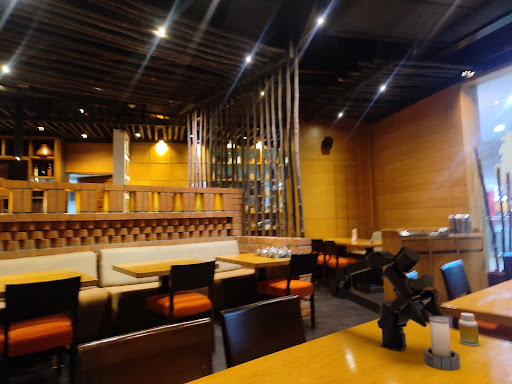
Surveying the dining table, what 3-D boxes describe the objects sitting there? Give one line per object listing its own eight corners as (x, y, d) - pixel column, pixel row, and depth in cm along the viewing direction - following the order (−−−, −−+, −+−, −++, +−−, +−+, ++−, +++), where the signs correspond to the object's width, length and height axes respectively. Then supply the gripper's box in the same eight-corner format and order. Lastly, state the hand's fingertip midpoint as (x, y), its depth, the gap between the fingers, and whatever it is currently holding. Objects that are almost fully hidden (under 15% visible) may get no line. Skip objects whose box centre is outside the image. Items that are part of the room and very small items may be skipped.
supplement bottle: (478, 347, 111) (476, 317, 112) (459, 344, 114) (457, 314, 115) (479, 342, 115) (477, 313, 116) (461, 339, 118) (459, 311, 119)
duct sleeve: (427, 361, 101) (425, 316, 102) (441, 358, 102) (438, 315, 103) (442, 368, 96) (439, 321, 97) (456, 365, 97) (453, 319, 98)
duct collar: (420, 363, 99) (420, 353, 99) (430, 355, 105) (430, 345, 106) (455, 373, 93) (454, 361, 93) (463, 362, 99) (462, 352, 99)
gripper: (396, 268, 102) (434, 313, 92) (431, 263, 112) (469, 303, 102) (376, 290, 108) (409, 335, 98) (411, 284, 118) (445, 324, 108)
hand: (434, 323), depth 101 cm, fingers open, 9 cm apart
